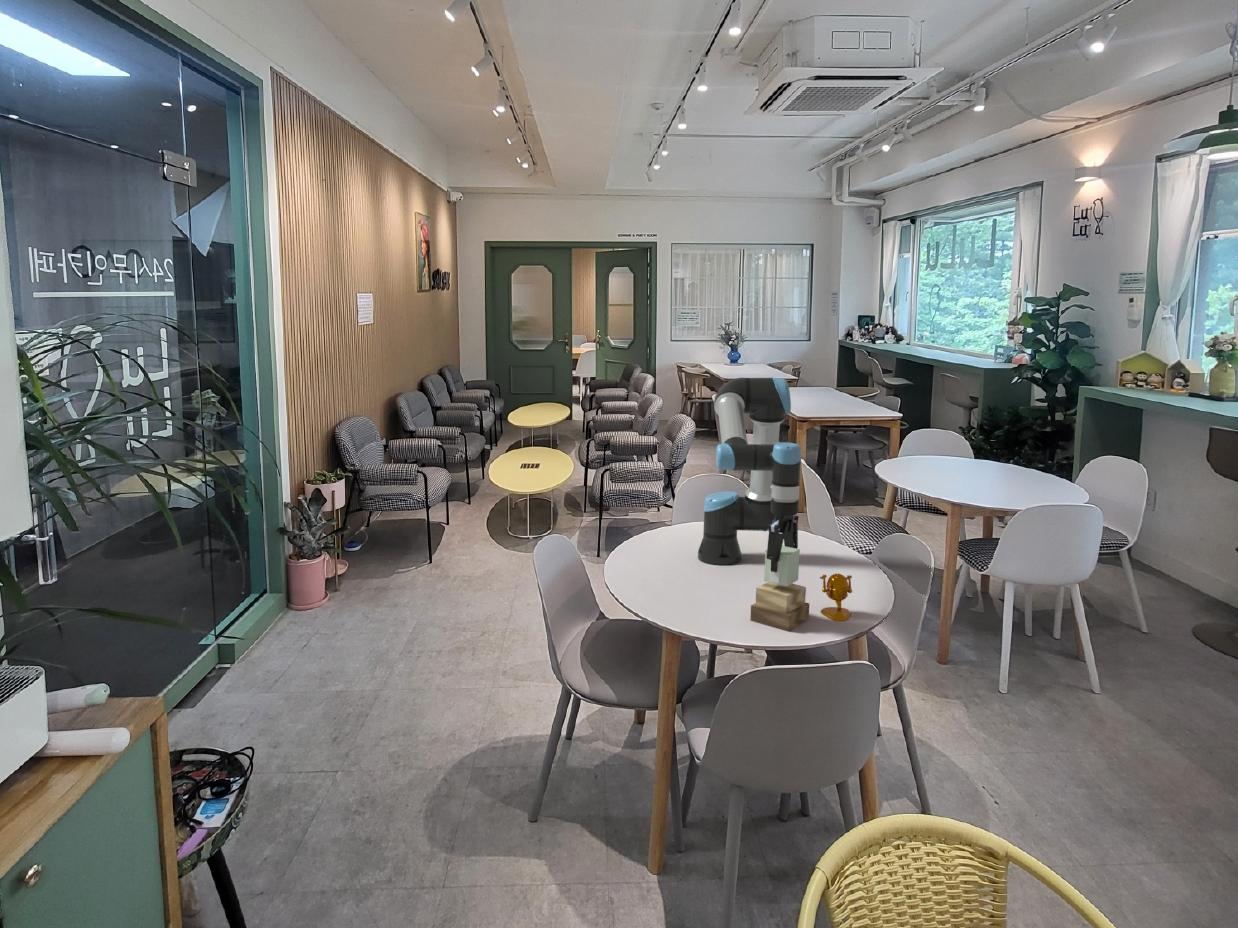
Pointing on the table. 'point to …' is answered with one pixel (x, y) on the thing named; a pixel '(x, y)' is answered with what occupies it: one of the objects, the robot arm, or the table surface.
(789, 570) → the sage block
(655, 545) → the table surface
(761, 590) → the oak slab
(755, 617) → the walnut slab
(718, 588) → the table surface
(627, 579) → the table surface
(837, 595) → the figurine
